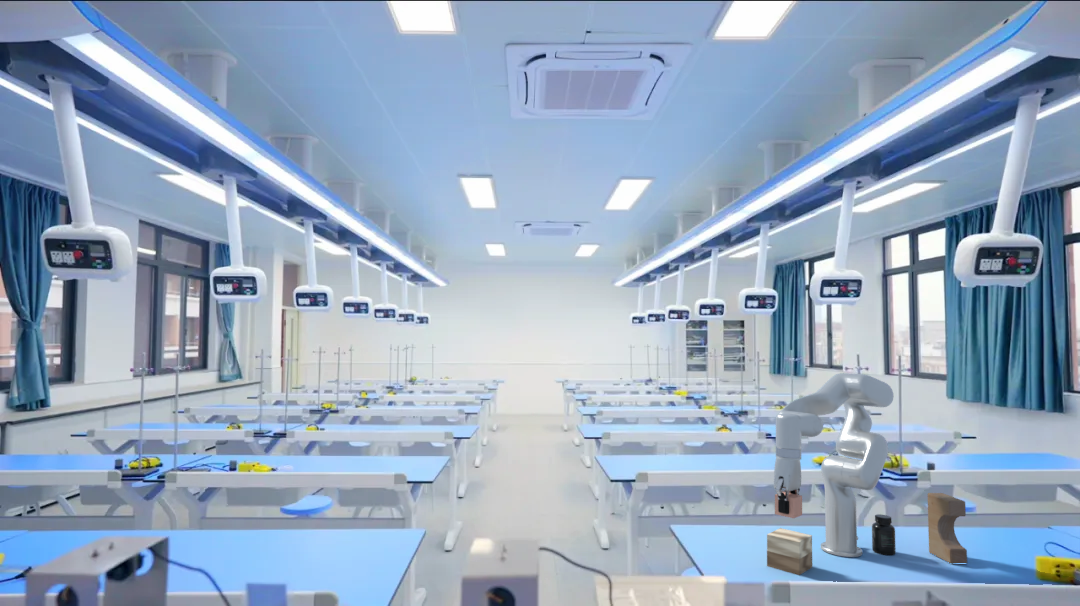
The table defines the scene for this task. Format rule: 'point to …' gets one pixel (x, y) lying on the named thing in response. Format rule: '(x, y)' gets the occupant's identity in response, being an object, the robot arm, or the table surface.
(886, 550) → the supplement bottle
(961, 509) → the decorative block
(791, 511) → the terracotta cube
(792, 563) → the walnut base block
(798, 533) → the maple top block
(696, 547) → the table surface
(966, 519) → the table surface
